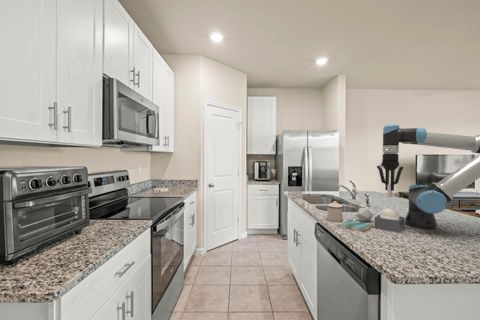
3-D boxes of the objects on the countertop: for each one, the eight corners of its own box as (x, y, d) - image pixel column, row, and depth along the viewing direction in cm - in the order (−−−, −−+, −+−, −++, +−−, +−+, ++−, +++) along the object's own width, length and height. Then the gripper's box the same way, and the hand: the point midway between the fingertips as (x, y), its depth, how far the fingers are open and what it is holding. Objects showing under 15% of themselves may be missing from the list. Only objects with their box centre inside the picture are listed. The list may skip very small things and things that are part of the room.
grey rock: (371, 224, 148) (377, 210, 150) (357, 216, 149) (364, 203, 152) (364, 226, 155) (370, 212, 158) (351, 218, 157) (357, 205, 160)
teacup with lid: (345, 221, 152) (346, 202, 151) (331, 222, 150) (332, 202, 150) (335, 216, 163) (335, 199, 163) (321, 217, 162) (322, 199, 162)
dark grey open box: (404, 228, 139) (404, 217, 139) (398, 232, 131) (399, 221, 131) (381, 224, 147) (381, 213, 147) (374, 228, 139) (374, 217, 139)
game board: (373, 226, 141) (373, 224, 141) (364, 232, 131) (364, 229, 131) (347, 222, 151) (347, 219, 151) (337, 226, 141) (337, 224, 141)
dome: (401, 223, 139) (401, 208, 139) (396, 226, 132) (397, 210, 132) (382, 220, 145) (383, 205, 145) (377, 223, 139) (377, 207, 139)
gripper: (375, 153, 140) (374, 195, 141) (402, 153, 131) (401, 198, 131) (379, 153, 145) (378, 194, 146) (406, 153, 136) (404, 197, 137)
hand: (389, 196), depth 139 cm, fingers closed
